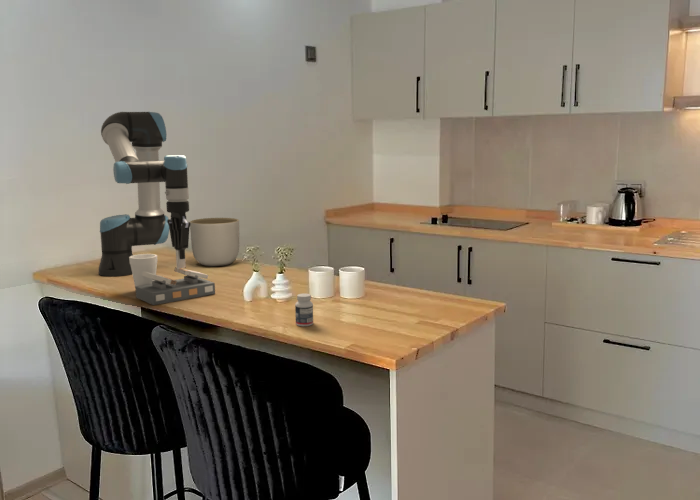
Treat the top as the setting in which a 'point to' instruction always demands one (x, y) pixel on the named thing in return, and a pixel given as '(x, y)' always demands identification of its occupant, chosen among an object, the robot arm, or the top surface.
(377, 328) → the top surface
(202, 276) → the panel
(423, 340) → the top surface
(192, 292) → the switch unit
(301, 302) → the pill bottle
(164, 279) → the block
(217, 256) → the planter
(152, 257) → the foam cup
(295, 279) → the top surface
